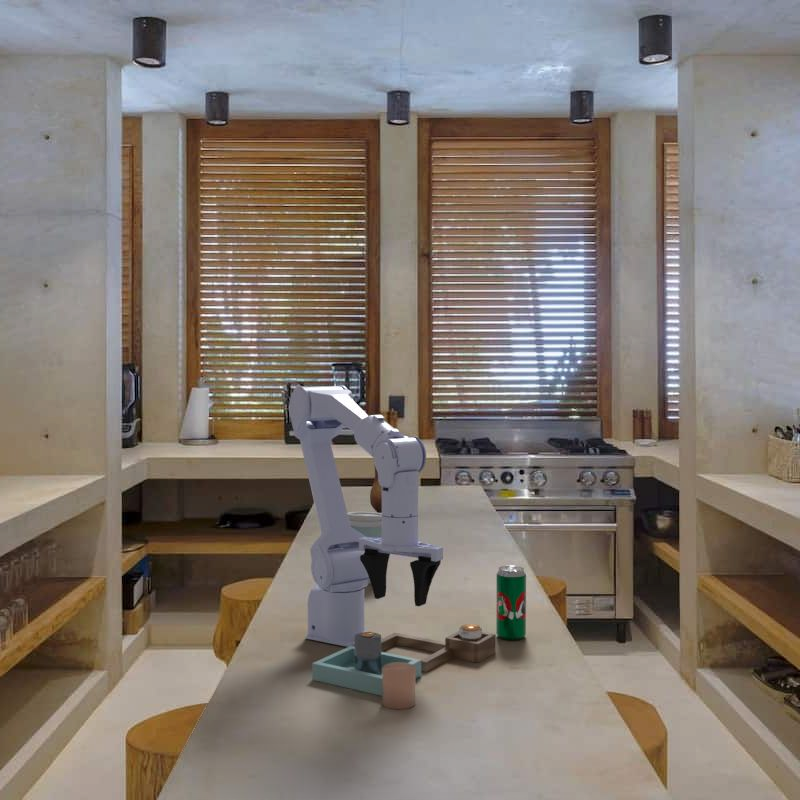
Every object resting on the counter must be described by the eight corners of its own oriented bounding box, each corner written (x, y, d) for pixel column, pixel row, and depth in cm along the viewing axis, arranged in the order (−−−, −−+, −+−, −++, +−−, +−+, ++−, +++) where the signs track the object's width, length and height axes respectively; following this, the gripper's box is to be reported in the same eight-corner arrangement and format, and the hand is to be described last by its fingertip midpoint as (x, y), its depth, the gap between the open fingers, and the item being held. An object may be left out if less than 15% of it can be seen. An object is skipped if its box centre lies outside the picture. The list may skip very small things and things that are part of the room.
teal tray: (312, 679, 138) (312, 663, 138) (351, 661, 147) (351, 645, 147) (384, 696, 132) (384, 679, 131) (421, 676, 140) (421, 659, 140)
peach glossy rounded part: (376, 704, 128) (375, 669, 128) (394, 694, 132) (393, 660, 132) (404, 711, 126) (404, 675, 126) (421, 700, 130) (421, 665, 130)
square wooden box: (445, 656, 149) (445, 637, 149) (463, 646, 154) (463, 628, 154) (478, 662, 146) (478, 644, 146) (495, 652, 151) (495, 634, 151)
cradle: (359, 658, 148) (359, 648, 148) (394, 641, 157) (394, 632, 157) (426, 671, 142) (426, 662, 142) (458, 653, 150) (458, 644, 150)
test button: (455, 644, 149) (455, 627, 149) (466, 639, 153) (466, 622, 152) (475, 648, 148) (475, 631, 147) (485, 642, 151) (485, 625, 150)
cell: (349, 676, 139) (349, 634, 139) (364, 669, 142) (364, 628, 142) (371, 681, 137) (371, 638, 136) (386, 674, 140) (386, 632, 140)
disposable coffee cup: (348, 574, 206) (348, 507, 205) (395, 576, 204) (395, 508, 203) (335, 585, 196) (335, 515, 195) (385, 588, 194) (385, 516, 193)
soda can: (523, 632, 162) (523, 564, 162) (528, 641, 157) (528, 571, 156) (494, 632, 162) (494, 564, 161) (498, 641, 157) (498, 571, 156)
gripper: (347, 513, 145) (347, 599, 145) (425, 523, 137) (425, 614, 137) (373, 507, 150) (373, 590, 151) (450, 516, 142) (449, 603, 143)
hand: (399, 601), depth 145 cm, fingers open, 7 cm apart
